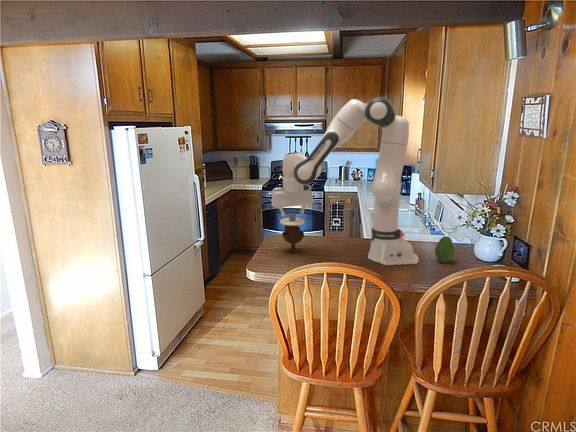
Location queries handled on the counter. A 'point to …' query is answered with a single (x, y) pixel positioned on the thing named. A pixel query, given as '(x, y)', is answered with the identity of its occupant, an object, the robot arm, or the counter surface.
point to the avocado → (444, 249)
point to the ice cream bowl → (292, 236)
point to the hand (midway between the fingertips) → (292, 215)
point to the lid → (292, 220)
